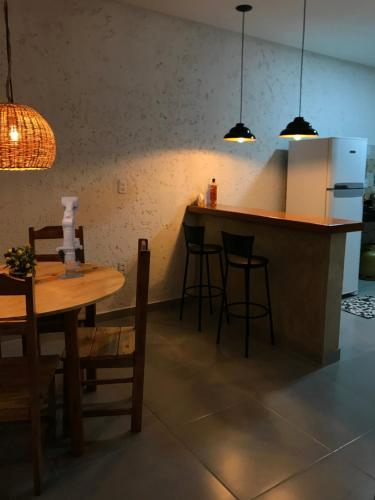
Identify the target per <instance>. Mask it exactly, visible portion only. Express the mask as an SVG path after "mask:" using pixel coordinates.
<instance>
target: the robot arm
mask: <svg viewBox="0 0 375 500" xmlns="http://www.w3.org/2000/svg"><path fill="white" fill-rule="evenodd" d="M61 206H62V210H63V218H62V219H61V220H62V221H61V224H62V227H61V228H62V231H63V244H62V245H63V246H59V247H55V250H56V252H57V253H58V255H59V257H60V260H61V264H64V265H63V267H64V268H65V261H75V262H76V269H82V268H81V266H79V258H80V254H81V252H82V250H83V245H81V244H80V243H81V241H80V240H79V239H77V237H76V224H75V223H76V218H75V217H76V216H75V215H76V212H77V211H79V207H80V205H79V197H78V196H61Z"/></svg>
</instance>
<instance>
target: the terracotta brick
mask: <svg viewBox="0 0 375 500" xmlns="http://www.w3.org/2000/svg"><path fill="white" fill-rule="evenodd" d="M64 261H65V260H64ZM64 266H65V267H64V268H66V269H68V270H71V269H76V270H77V268H76V262H75V261H65V263H64Z"/></svg>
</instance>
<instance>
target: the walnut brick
mask: <svg viewBox="0 0 375 500" xmlns="http://www.w3.org/2000/svg"><path fill="white" fill-rule="evenodd" d="M64 268H65V267H64ZM76 273H77V268H76V269H71V270H68V269H66V268H65V274H66V275H67V276H68V277H70V276H76Z"/></svg>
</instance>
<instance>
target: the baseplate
mask: <svg viewBox="0 0 375 500" xmlns="http://www.w3.org/2000/svg"><path fill="white" fill-rule="evenodd" d="M58 277H59V278H60V279H61V280H67V279H75V278H83V277H84V274H82V273H81V272H76V276H70V277H68V276H67V275H66V273H65V274H58Z"/></svg>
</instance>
